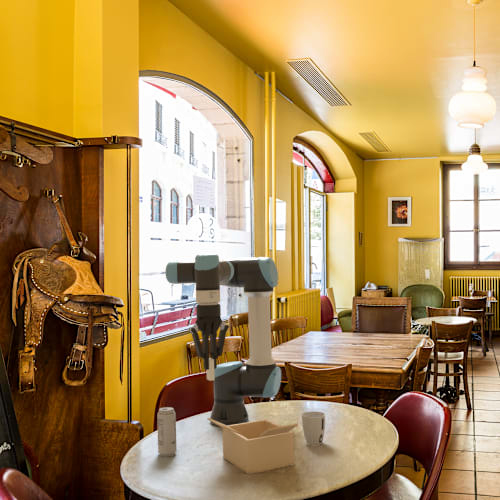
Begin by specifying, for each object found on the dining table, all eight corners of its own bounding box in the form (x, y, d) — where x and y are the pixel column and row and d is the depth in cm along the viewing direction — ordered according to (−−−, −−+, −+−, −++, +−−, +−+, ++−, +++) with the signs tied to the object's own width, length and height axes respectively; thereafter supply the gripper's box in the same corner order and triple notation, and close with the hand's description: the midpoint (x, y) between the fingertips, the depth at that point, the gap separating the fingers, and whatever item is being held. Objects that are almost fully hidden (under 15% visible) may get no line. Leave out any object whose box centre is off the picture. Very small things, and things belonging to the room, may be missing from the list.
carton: (222, 457, 194) (221, 426, 194) (267, 448, 202) (266, 418, 202) (248, 474, 177) (247, 440, 178) (296, 464, 185) (295, 431, 185)
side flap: (207, 417, 189) (207, 419, 189) (220, 424, 180) (220, 426, 180) (225, 425, 192) (225, 426, 192) (239, 432, 183) (238, 434, 183)
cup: (325, 447, 201) (324, 417, 201) (301, 446, 203) (300, 416, 203) (326, 440, 209) (326, 411, 209) (303, 439, 211) (303, 411, 211)
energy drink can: (177, 456, 196) (175, 410, 196) (158, 458, 195) (157, 411, 195) (176, 450, 202) (175, 406, 202) (158, 452, 201) (157, 407, 201)
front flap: (268, 428, 174) (268, 430, 174) (297, 423, 179) (298, 425, 179) (258, 435, 180) (259, 437, 180) (287, 430, 184) (287, 431, 184)
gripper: (193, 305, 180) (195, 384, 180) (232, 303, 186) (234, 379, 185) (184, 304, 186) (186, 380, 186) (222, 301, 192) (224, 375, 192)
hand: (210, 379), depth 186 cm, fingers closed
